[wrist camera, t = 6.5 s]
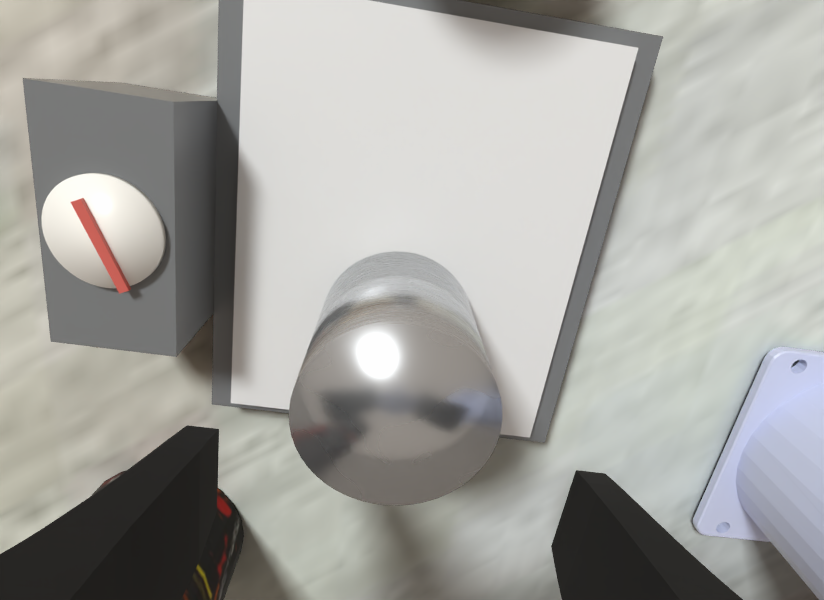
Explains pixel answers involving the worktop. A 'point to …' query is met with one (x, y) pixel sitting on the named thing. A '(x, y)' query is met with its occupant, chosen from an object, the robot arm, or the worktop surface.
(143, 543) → the robot arm
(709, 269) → the worktop surface
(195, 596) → the deodorant
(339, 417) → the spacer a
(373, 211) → the scale
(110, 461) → the worktop surface
